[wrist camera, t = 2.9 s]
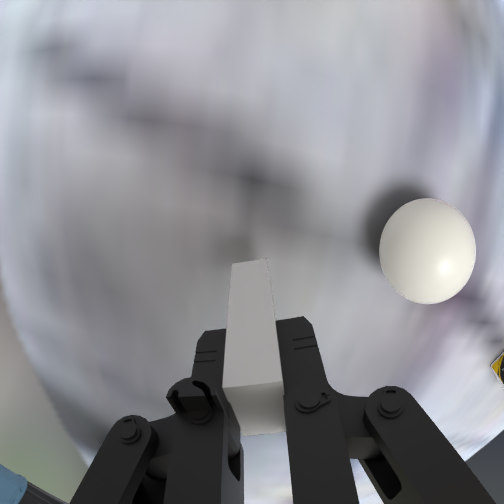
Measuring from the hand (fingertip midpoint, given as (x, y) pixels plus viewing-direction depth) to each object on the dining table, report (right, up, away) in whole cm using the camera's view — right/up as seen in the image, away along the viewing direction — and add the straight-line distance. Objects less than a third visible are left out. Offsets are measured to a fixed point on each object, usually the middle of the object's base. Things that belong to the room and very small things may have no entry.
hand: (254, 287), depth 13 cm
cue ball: (+9, +2, 0) cm, 9 cm away
